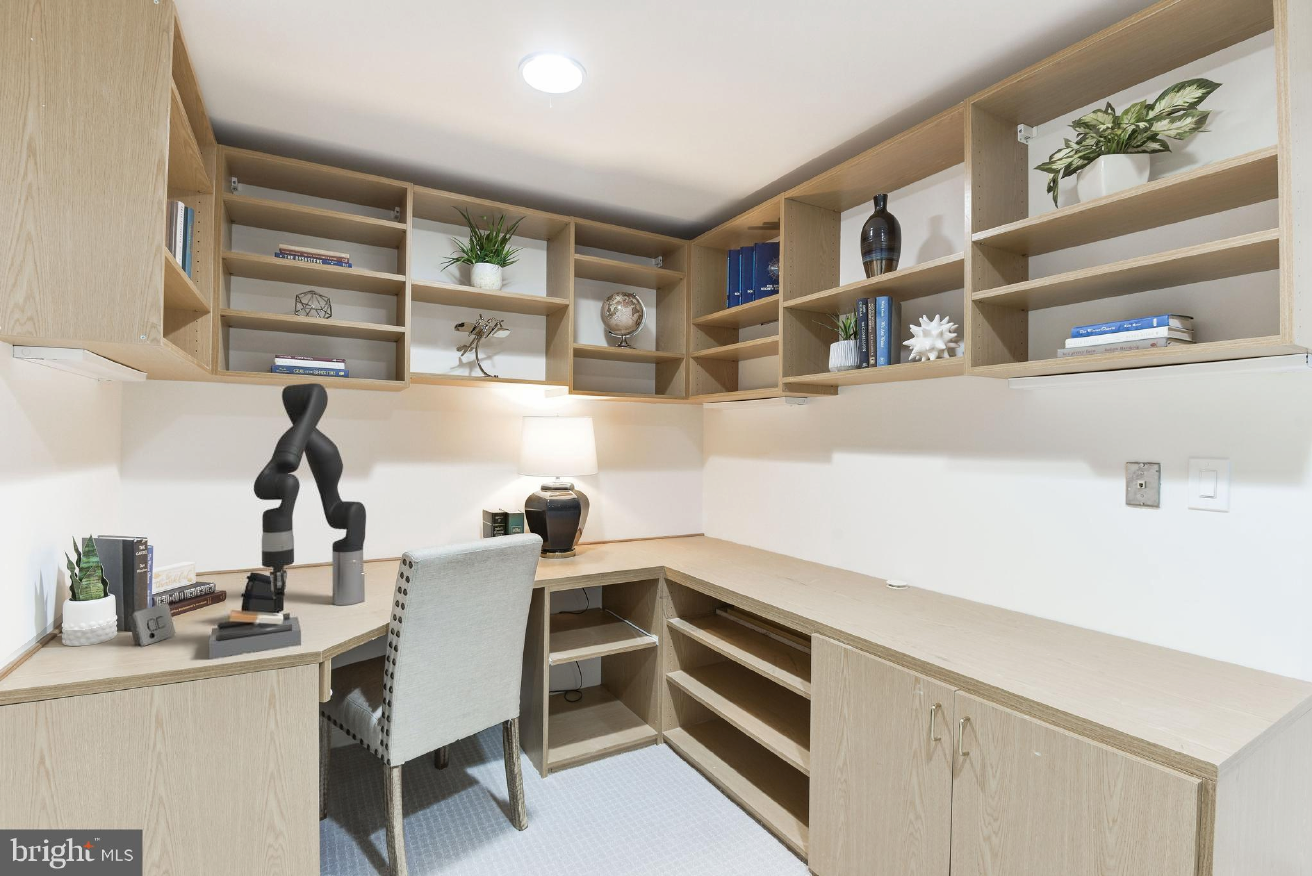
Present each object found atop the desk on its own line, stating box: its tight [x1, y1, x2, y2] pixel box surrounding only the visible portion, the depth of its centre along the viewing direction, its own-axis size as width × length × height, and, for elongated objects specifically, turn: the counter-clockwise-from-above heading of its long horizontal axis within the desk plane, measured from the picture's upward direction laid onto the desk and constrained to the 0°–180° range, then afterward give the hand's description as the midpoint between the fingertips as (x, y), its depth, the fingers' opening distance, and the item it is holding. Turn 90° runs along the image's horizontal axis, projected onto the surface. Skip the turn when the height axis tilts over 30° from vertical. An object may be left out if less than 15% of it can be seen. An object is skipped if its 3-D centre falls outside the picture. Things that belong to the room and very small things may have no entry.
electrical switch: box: [127, 603, 177, 647], centre depth 173 cm, size 9×5×9 cm, turn 169°
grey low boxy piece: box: [208, 612, 302, 660], centre depth 171 cm, size 20×14×6 cm
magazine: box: [240, 571, 280, 614], centre depth 190 cm, size 4×13×15 cm, turn 164°
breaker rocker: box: [229, 609, 284, 625], centre depth 170 cm, size 12×6×2 cm, turn 123°
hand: (278, 610), depth 173 cm, fingers closed
